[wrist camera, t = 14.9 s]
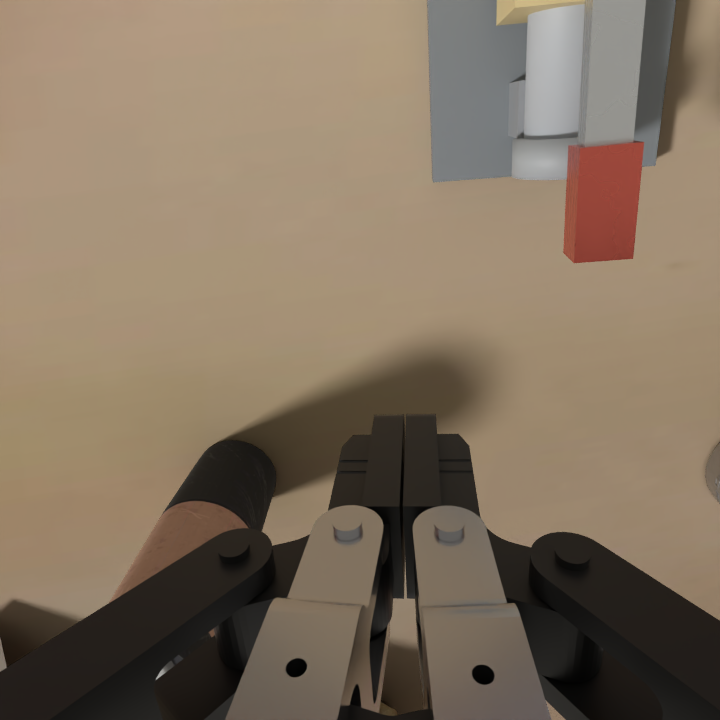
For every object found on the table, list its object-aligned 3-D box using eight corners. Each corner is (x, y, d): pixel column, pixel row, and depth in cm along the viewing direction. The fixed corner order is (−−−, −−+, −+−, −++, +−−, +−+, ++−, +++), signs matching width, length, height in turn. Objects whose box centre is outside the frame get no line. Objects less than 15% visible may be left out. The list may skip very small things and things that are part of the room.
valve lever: (579, -159, 21) (595, -185, 20) (656, -172, 21) (680, -198, 19) (561, 252, 28) (572, 263, 26) (620, 248, 27) (635, 258, 26)
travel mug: (290, 454, 49) (217, 659, 31) (267, 518, 52) (189, 738, 34) (206, 425, 48) (81, 616, 30) (188, 492, 52) (66, 701, 33)
